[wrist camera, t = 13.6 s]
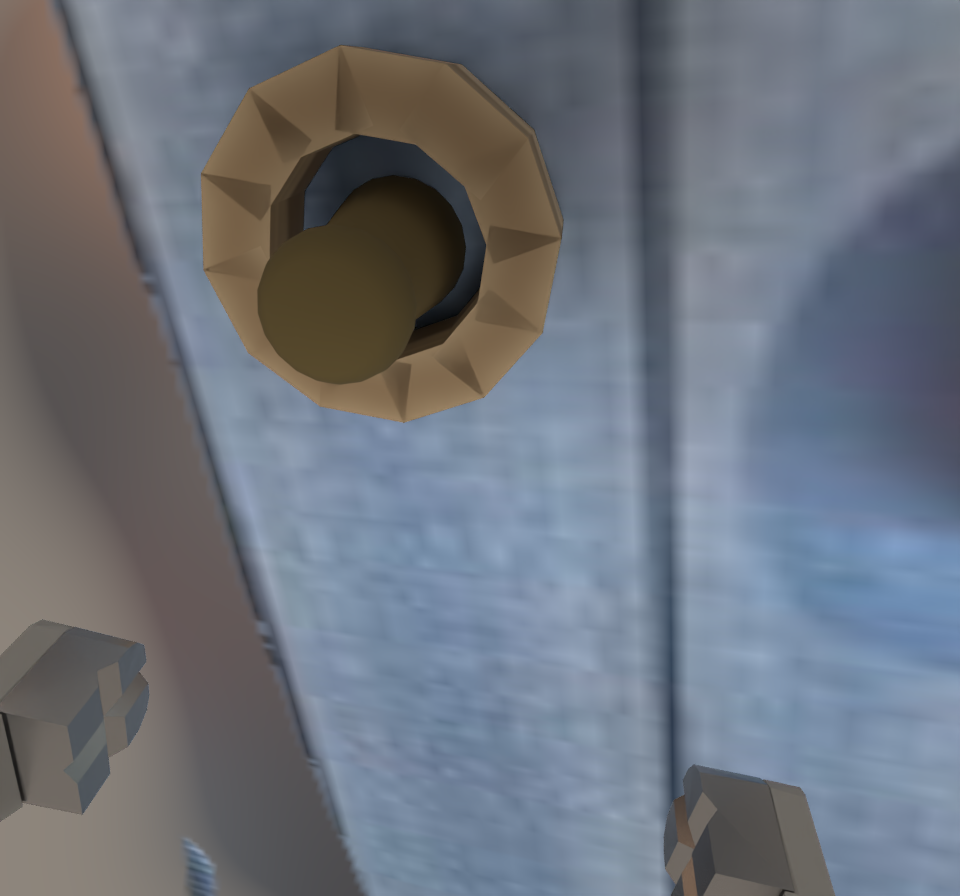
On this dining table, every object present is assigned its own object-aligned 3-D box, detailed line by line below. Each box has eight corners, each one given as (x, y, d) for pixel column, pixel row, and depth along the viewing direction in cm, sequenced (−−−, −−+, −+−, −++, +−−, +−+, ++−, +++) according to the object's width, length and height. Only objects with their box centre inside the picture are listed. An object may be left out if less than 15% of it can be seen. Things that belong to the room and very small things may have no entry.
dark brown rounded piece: (320, 289, 34) (216, 378, 24) (346, 155, 31) (241, 194, 21) (445, 330, 34) (392, 434, 24) (482, 201, 31) (439, 259, 22)
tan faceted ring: (242, 26, 29) (196, 20, 26) (590, 86, 29) (591, 88, 25) (243, 353, 36) (206, 384, 32) (525, 407, 35) (519, 445, 32)
